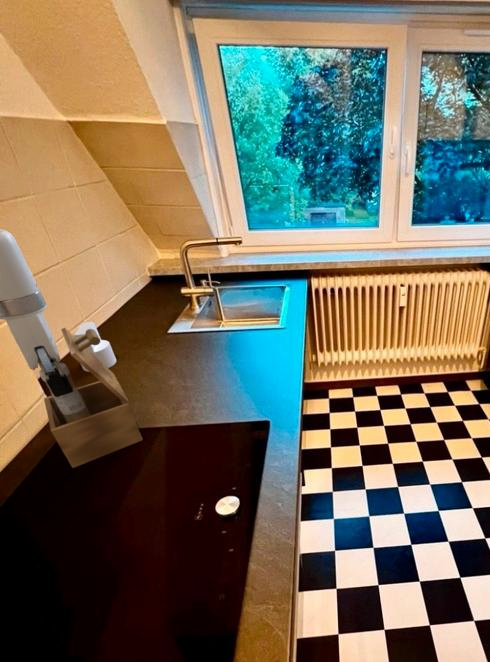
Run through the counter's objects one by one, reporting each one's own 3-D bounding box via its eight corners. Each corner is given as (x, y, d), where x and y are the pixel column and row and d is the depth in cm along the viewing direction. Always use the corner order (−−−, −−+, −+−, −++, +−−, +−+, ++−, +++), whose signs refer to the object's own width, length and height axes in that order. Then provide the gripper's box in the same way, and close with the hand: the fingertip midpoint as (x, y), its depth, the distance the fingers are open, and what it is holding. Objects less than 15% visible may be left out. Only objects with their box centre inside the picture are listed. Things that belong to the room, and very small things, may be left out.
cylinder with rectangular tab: (87, 359, 120) (71, 324, 114) (119, 355, 122) (105, 320, 116) (78, 373, 113) (61, 337, 107) (113, 369, 115) (97, 332, 109)
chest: (74, 471, 80) (51, 431, 74) (64, 435, 90) (43, 397, 84) (144, 443, 87) (128, 404, 82) (128, 413, 97) (113, 376, 91)
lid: (71, 355, 71) (96, 339, 73) (60, 329, 81) (83, 315, 82) (125, 404, 81) (146, 389, 83) (110, 376, 91) (130, 363, 92)
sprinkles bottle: (90, 412, 86) (64, 359, 79) (93, 421, 83) (67, 368, 76) (66, 420, 84) (37, 367, 77) (69, 430, 81) (39, 376, 74)
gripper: (-9, 296, 73) (36, 377, 83) (-8, 324, 62) (44, 415, 71) (39, 287, 77) (77, 366, 86) (48, 312, 65) (91, 399, 75)
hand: (62, 387), depth 79 cm, fingers closed on sprinkles bottle, 4 cm apart
